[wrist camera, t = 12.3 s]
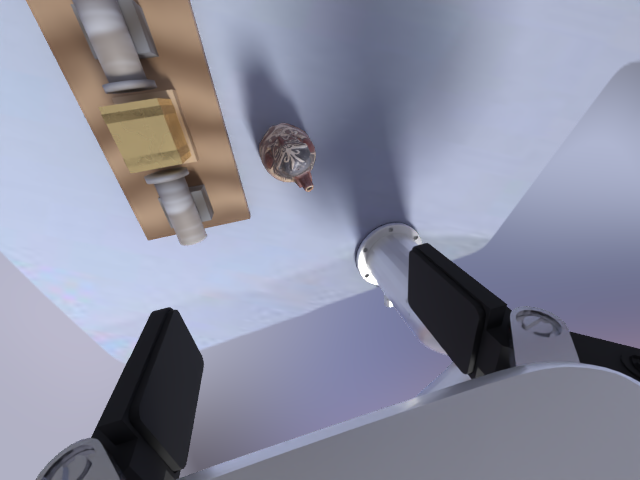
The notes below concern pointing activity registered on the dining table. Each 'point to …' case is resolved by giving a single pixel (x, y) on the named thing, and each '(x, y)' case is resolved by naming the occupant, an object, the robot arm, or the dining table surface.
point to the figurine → (288, 155)
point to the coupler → (147, 134)
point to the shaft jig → (142, 84)
